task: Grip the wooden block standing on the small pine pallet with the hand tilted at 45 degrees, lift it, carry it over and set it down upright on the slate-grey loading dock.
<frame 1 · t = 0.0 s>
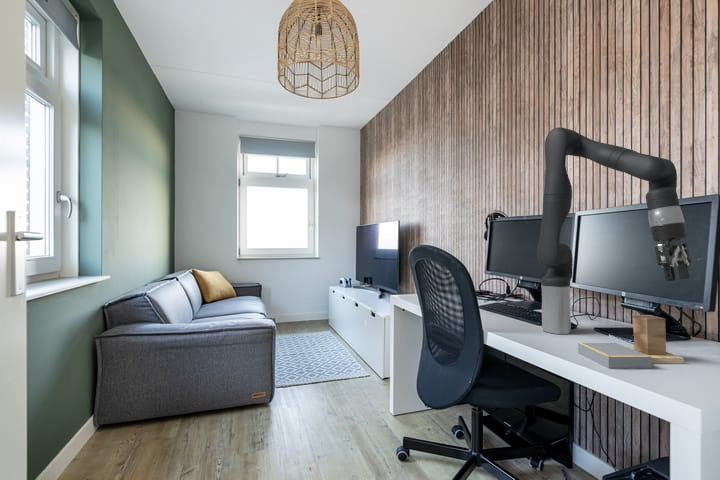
hand: (678, 279, 96), 22 cm above the table, tool pointing down, fingers open, 8 cm apart
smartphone: (634, 343, 113), on the table
wooden block: (649, 352, 97), point 2 cm above the table, touching pallet
pallet: (649, 357, 97), on the table
dock: (612, 360, 96), on the table
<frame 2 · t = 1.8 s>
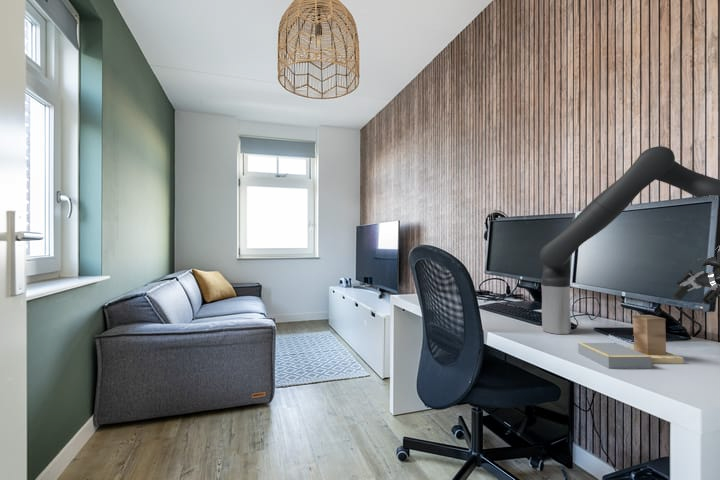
hand: (689, 300, 97), 16 cm above the table, tool tilted 45°, fingers open, 8 cm apart
nothing on the table moved.
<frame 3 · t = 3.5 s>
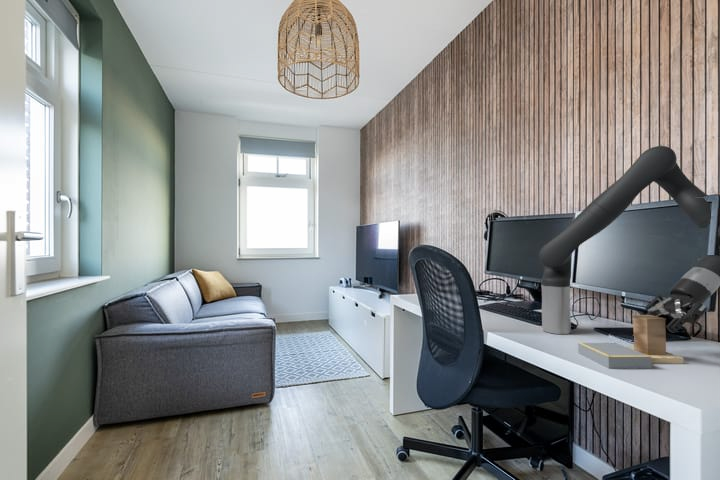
hand: (656, 326, 98), 9 cm above the table, tool tilted 45°, fingers open, 8 cm apart
nothing on the table moved.
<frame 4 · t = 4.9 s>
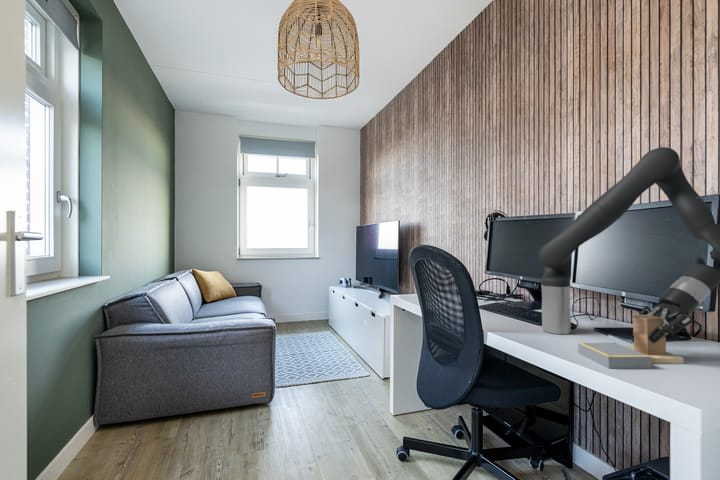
hand: (642, 337, 98), 6 cm above the table, tool tilted 45°, fingers closed on wooden block, 5 cm apart
wooden block: (649, 352, 97), point 2 cm above the table, touching gripper, pallet
everything else where it was.
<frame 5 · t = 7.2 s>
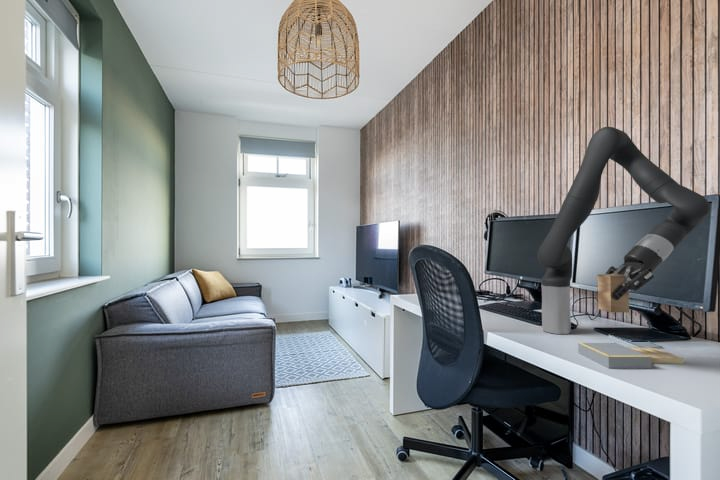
hand: (606, 296, 96), 18 cm above the table, tool tilted 45°, fingers closed on wooden block, 5 cm apart
wooden block: (613, 310, 96), point 14 cm above the table, touching gripper
everything else where it was.
when the fingers open (9 cm above the table, at t = 9.5 s): wooden block drops 1 cm, resting on dock.
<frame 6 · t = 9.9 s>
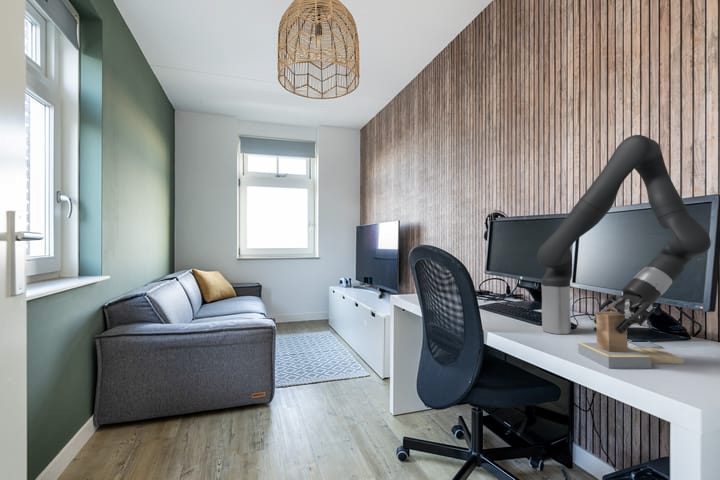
hand: (606, 327, 96), 9 cm above the table, tool tilted 45°, fingers open, 8 cm apart
wooden block: (611, 349, 96), point 3 cm above the table, touching dock
everything else where it was.
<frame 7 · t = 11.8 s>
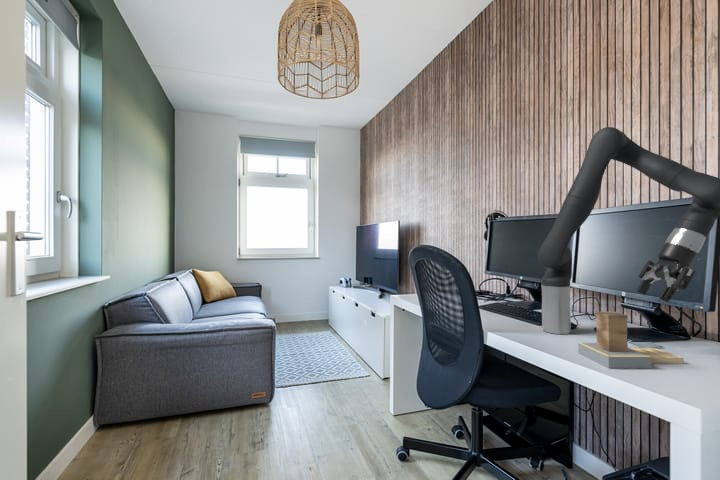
hand: (651, 296, 99), 17 cm above the table, tool tilted 30°, fingers open, 8 cm apart
nothing on the table moved.
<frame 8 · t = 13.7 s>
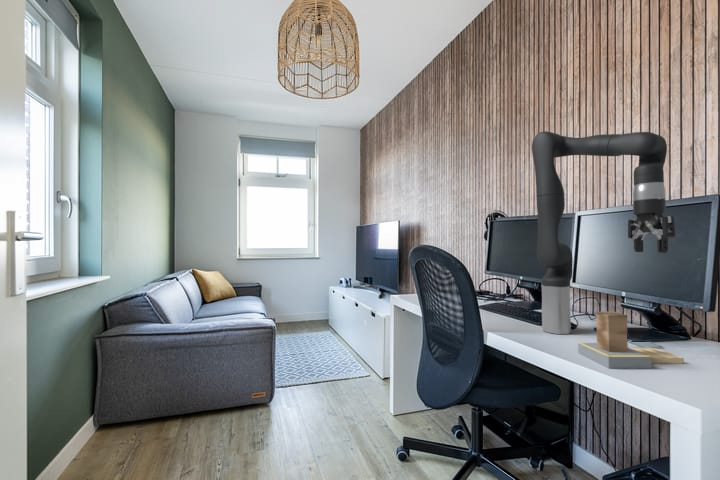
hand: (650, 252, 103), 30 cm above the table, tool pointing down, fingers open, 8 cm apart
nothing on the table moved.
at the end: wooden block inside the target area on the dock (0.1 cm from its centre), point 3.0 cm above the dock's base; wooden block tilted 0°; the gripper is holding nothing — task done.
